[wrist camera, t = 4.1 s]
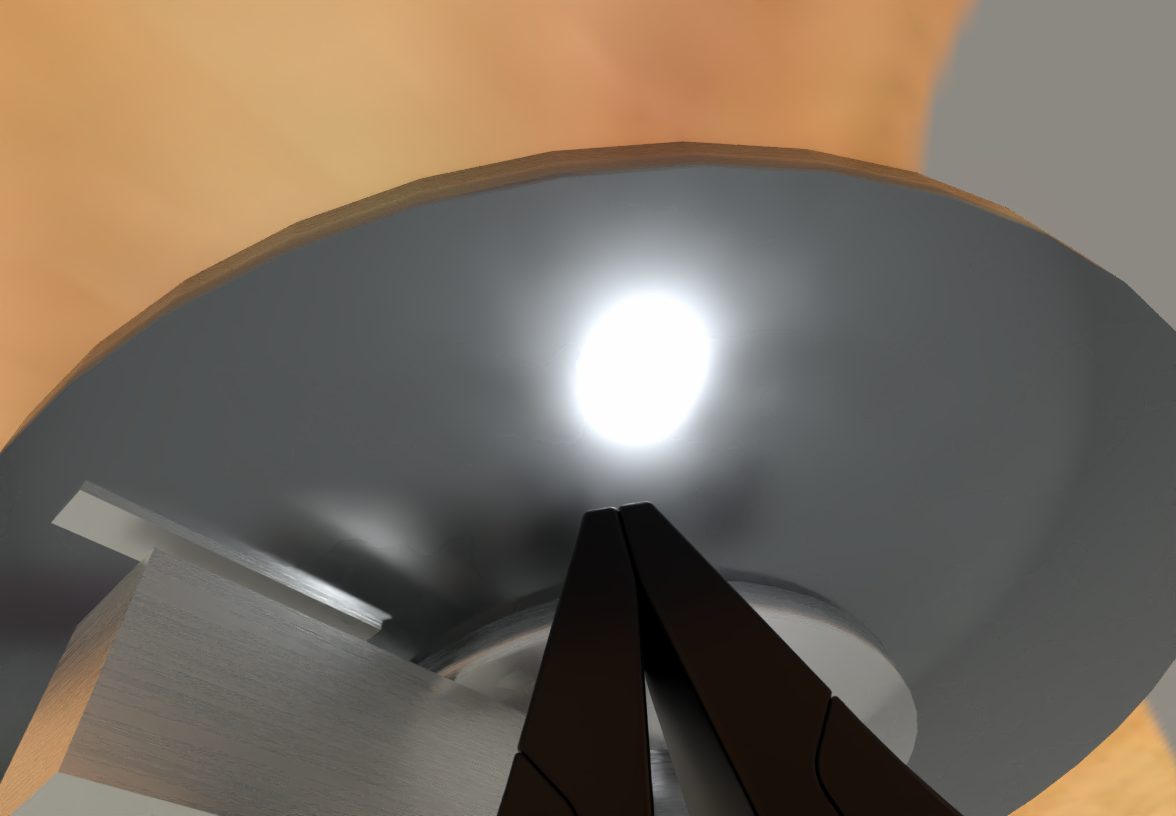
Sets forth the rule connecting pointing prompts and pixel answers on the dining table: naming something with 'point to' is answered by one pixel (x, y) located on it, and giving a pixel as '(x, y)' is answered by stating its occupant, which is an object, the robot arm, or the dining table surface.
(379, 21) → the dining table surface
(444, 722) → the dial
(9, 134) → the dining table surface
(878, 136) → the dining table surface
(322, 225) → the dial plate
